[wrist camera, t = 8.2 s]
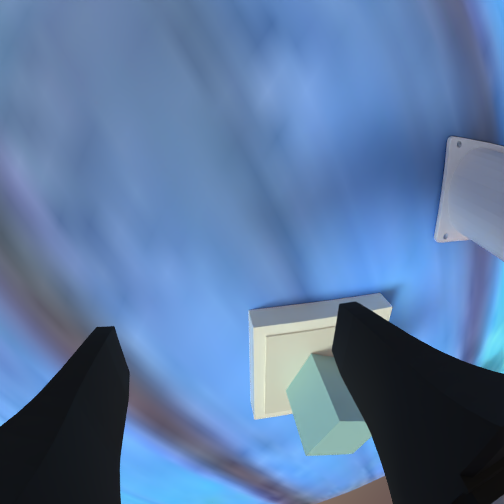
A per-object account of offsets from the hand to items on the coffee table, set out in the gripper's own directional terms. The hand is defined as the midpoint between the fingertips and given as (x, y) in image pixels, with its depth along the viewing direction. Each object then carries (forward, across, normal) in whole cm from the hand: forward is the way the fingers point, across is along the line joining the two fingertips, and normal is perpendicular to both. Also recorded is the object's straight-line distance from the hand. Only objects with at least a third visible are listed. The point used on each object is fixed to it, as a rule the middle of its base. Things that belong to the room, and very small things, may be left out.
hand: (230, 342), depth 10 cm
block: (+8, -7, +11) cm, 15 cm away
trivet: (+10, -7, +11) cm, 17 cm away
